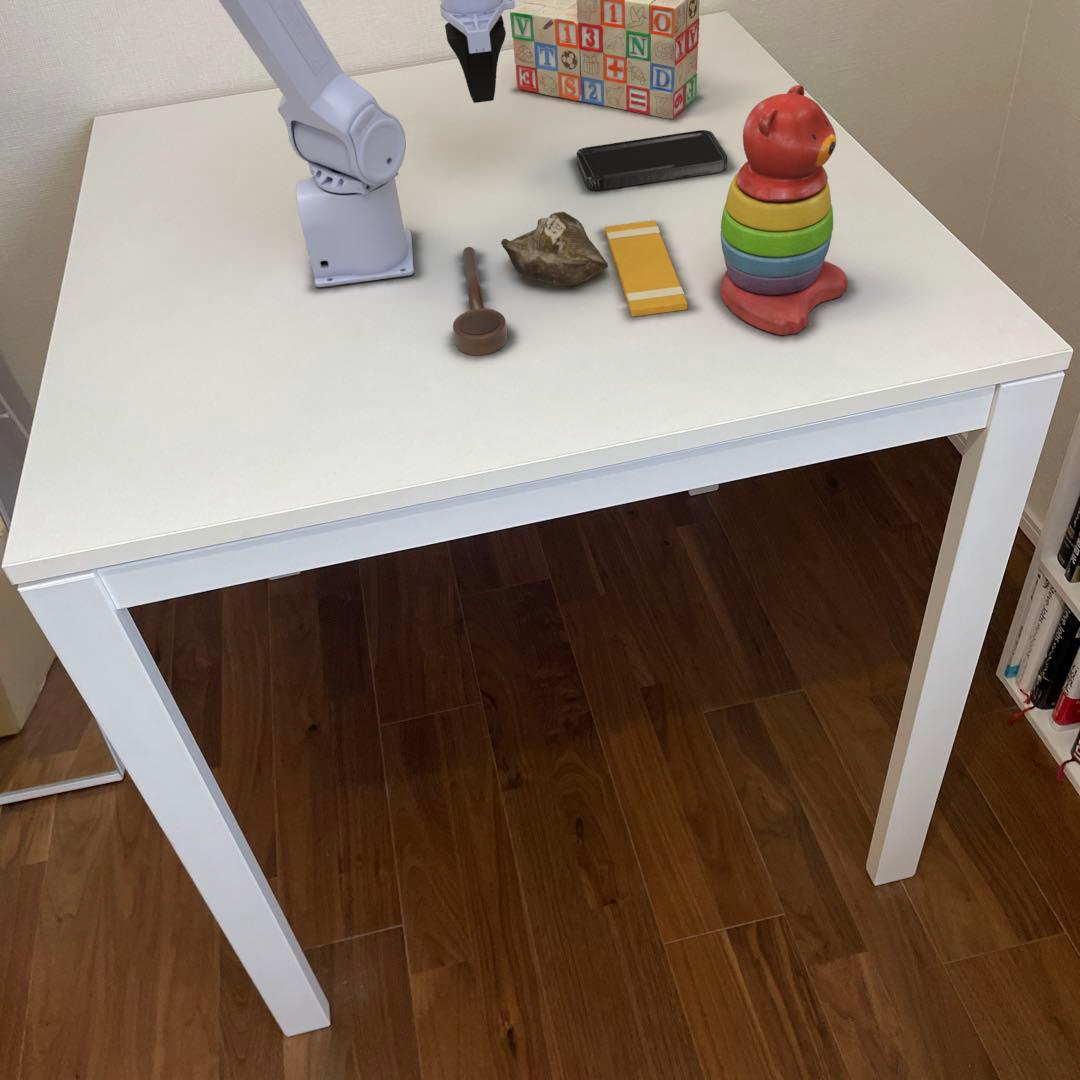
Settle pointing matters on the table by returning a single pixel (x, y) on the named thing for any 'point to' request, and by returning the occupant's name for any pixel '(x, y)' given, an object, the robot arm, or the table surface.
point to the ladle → (478, 317)
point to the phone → (651, 160)
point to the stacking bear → (781, 217)
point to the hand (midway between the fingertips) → (483, 99)
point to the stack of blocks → (610, 52)
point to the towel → (645, 269)
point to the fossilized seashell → (556, 252)
